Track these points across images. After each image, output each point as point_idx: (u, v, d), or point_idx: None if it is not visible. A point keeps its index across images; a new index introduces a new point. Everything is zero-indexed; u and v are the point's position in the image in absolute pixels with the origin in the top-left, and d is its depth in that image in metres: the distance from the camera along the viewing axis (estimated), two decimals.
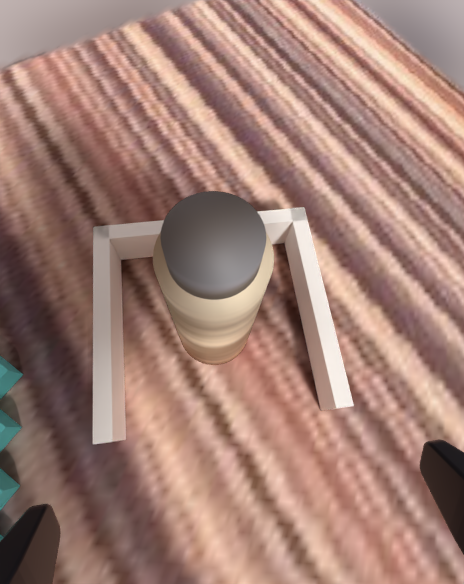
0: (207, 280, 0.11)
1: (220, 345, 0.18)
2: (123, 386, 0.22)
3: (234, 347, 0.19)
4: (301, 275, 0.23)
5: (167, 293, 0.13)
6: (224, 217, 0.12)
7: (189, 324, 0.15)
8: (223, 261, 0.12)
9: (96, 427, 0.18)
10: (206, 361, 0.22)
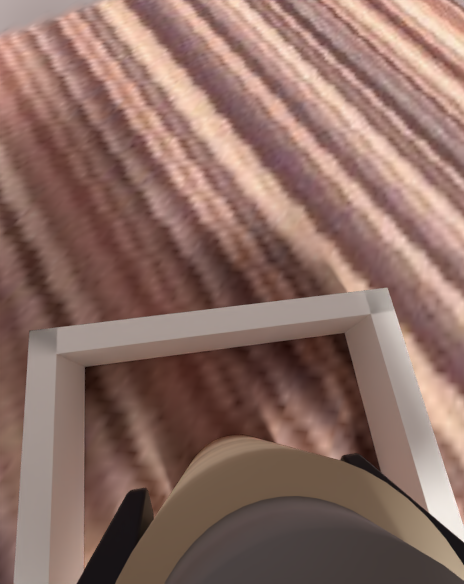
0: None
1: None
2: None
3: None
4: (390, 413, 0.13)
5: None
6: None
7: None
8: None
9: None
10: None
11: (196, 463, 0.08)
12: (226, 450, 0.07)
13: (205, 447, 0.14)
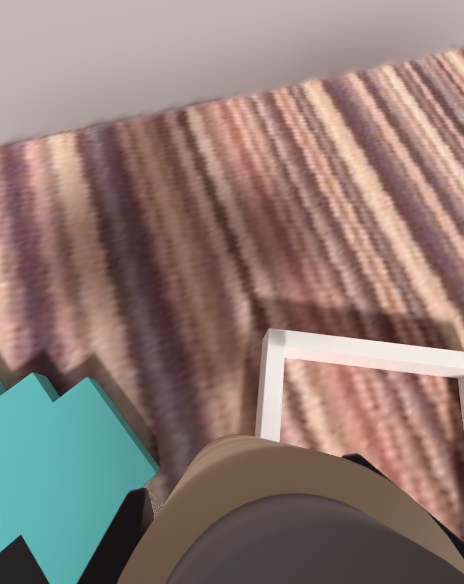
0: None
1: None
2: None
3: None
4: None
5: None
6: None
7: None
8: None
9: None
10: None
11: (197, 461, 0.08)
12: (228, 448, 0.07)
13: (206, 446, 0.14)
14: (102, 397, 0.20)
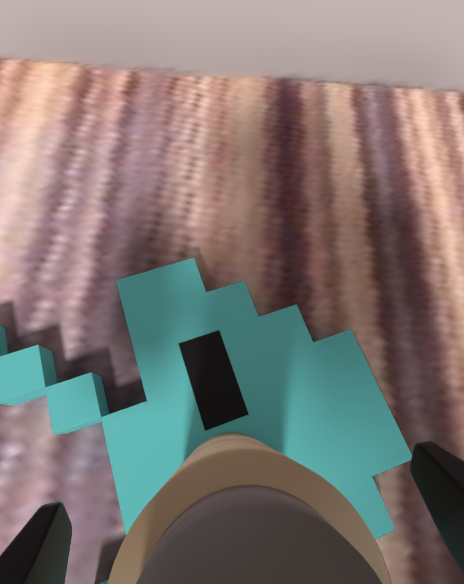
0: None
1: None
2: None
3: None
4: None
5: None
6: None
7: None
8: None
9: None
10: None
11: (188, 458, 0.10)
12: (210, 448, 0.09)
13: (201, 443, 0.15)
14: None
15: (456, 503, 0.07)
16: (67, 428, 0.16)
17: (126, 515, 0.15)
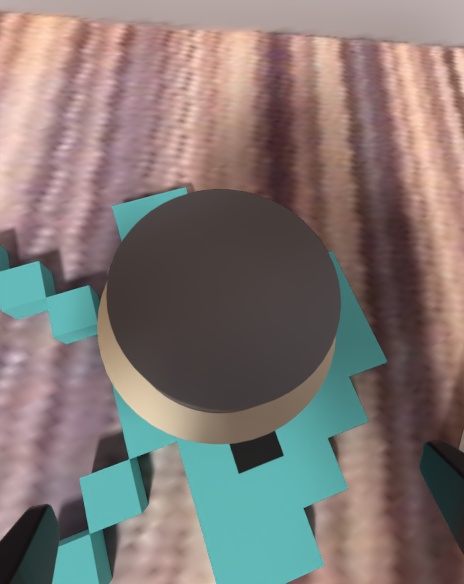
0: (219, 401, 0.05)
1: None
2: None
3: None
4: None
5: (127, 402, 0.06)
6: (248, 245, 0.06)
7: None
8: (252, 349, 0.05)
9: None
10: None
11: None
12: None
13: None
14: None
15: None
16: (66, 333, 0.18)
17: (121, 406, 0.17)
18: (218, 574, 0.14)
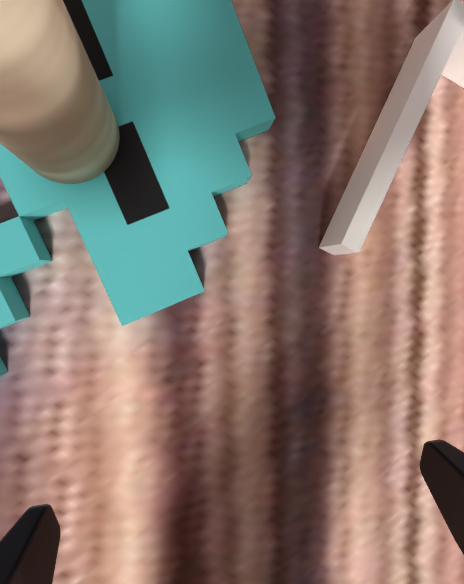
0: None
1: (28, 119, 0.11)
2: None
3: (72, 133, 0.13)
4: None
5: None
6: None
7: None
8: None
9: (351, 230, 0.17)
10: (60, 176, 0.15)
11: None
12: None
13: None
14: None
15: None
16: None
17: (0, 167, 0.16)
18: (115, 301, 0.17)
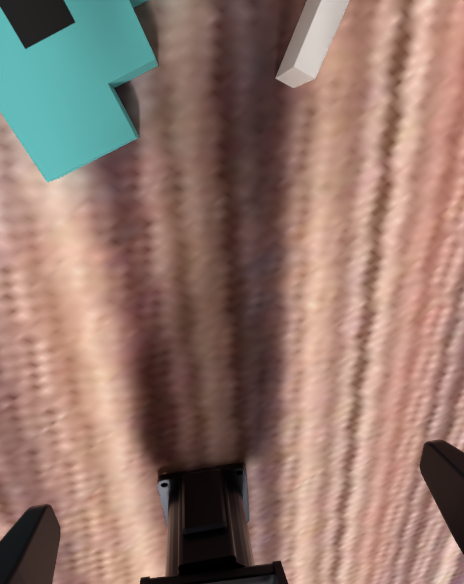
0: None
1: None
2: None
3: None
4: None
5: None
6: None
7: None
8: None
9: (306, 47, 0.14)
10: None
11: None
12: None
13: None
14: None
15: None
16: None
17: None
18: (32, 153, 0.15)
